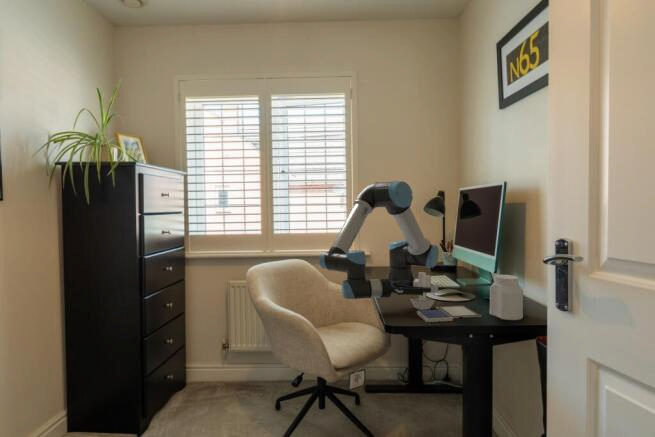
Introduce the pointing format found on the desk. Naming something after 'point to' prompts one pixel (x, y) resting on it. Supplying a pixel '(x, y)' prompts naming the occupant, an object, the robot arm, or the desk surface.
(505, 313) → the jar
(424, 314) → the ink pad
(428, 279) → the figurine
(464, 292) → the desk surface
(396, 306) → the desk surface
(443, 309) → the card sheet
